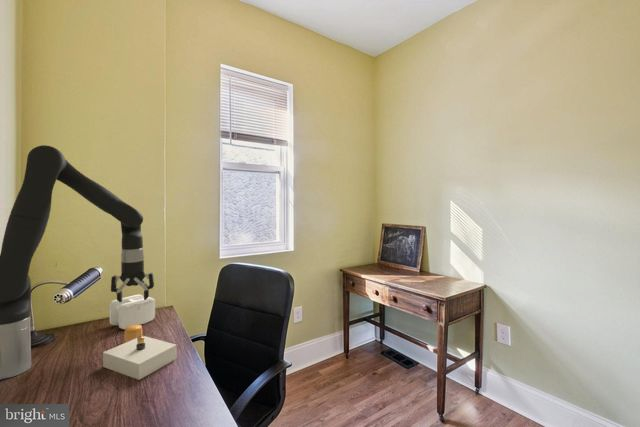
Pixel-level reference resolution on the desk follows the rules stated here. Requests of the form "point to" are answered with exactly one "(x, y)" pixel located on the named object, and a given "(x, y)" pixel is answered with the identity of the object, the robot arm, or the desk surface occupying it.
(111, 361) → the box
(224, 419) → the desk surface
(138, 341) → the pigtail
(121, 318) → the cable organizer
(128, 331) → the orange lidded jar
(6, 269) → the robot arm
